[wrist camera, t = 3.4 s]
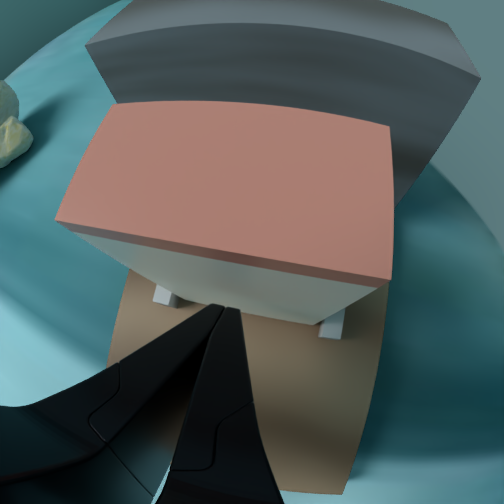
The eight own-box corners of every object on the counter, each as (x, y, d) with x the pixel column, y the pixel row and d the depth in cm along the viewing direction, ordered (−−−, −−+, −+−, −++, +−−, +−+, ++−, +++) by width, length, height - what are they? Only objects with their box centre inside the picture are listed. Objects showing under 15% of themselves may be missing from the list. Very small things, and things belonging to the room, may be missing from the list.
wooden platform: (336, 482, 11) (404, 619, 1) (110, 427, 13) (-43, 471, 3) (383, 167, 17) (447, 23, 6) (188, 139, 19) (134, -1, 8)
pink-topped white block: (312, 325, 13) (391, 279, 4) (184, 299, 13) (54, 220, 5) (322, 261, 13) (389, 126, 5) (200, 240, 14) (112, 104, 6)
